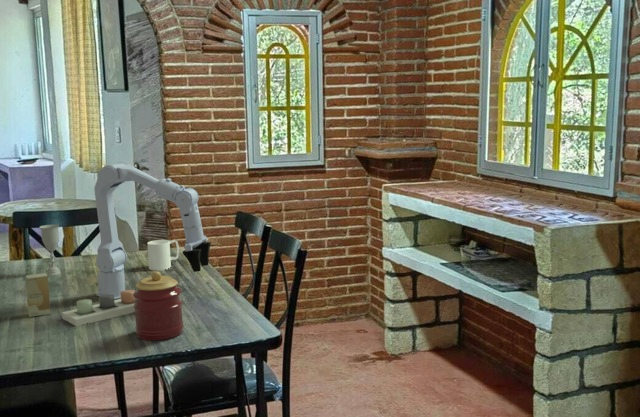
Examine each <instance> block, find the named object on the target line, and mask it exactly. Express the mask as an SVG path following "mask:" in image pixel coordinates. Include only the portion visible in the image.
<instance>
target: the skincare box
mask: <svg viewBox="0 0 640 417" xmlns="http://www.w3.org/2000/svg"><path fill="white" fill-rule="evenodd" d="M49 285H50V284H49V275H47V272H45V273H43V272H42V273H33V274H26V275H25V288H26V290H25V291H26V292H25V293H26V307H27V315H28V317H29V318H31V317H37V316H46V315H51V305H50V304H51V303H50V302H51V301H50V289H49V288H50V287H49Z"/></svg>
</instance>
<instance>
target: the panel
mask: <svg viewBox="0 0 640 417" xmlns="http://www.w3.org/2000/svg"><path fill="white" fill-rule="evenodd" d="M114 302H115V307H113V308H109V309H101V308H100V304H99V303H97V304H92V306H93V312H91V313H88V314H78V313H77V308H75V309H71V310H70V309H69V310H66V311H63V312H62V311H61V317H62V320H64V321H66V322H67V321H68V323H70V324H71V325H73V326H75V327H80V326H84V325H88V324H92V323H97V322H101V321H104V320H105V321H106V320H108V319H112V318H117V317H121V316H124V315H129V314H133V313H135V308H134V304H135V302H134V303H130V304H123V303H121V298H118V299H114ZM87 323H88V324H87ZM83 324H84V325H83ZM79 325H80V326H79Z"/></svg>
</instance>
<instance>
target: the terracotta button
mask: <svg viewBox="0 0 640 417" xmlns="http://www.w3.org/2000/svg"><path fill="white" fill-rule="evenodd" d="M135 291H136V290H134V289H125V290H124V291H121V292H120V293H121V298H120V299H121V303H123V304H130V303H134V302H135V297H134V296H133V293H134V292H135Z"/></svg>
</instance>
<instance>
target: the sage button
mask: <svg viewBox="0 0 640 417" xmlns="http://www.w3.org/2000/svg"><path fill="white" fill-rule="evenodd" d="M92 305H93V300H92V299H88V298H85V299H79V300H77V301H76V309H77V313H78V314H88V313H91V312H93V306H92Z"/></svg>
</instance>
